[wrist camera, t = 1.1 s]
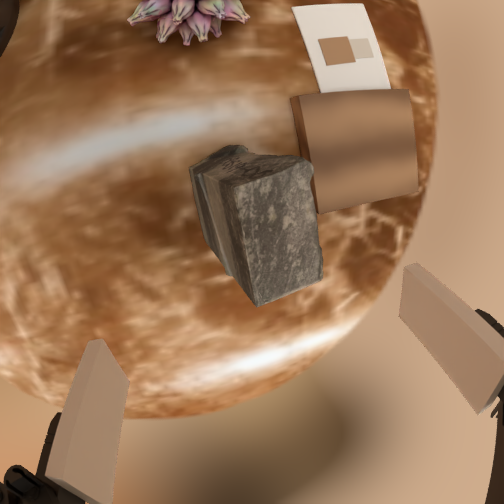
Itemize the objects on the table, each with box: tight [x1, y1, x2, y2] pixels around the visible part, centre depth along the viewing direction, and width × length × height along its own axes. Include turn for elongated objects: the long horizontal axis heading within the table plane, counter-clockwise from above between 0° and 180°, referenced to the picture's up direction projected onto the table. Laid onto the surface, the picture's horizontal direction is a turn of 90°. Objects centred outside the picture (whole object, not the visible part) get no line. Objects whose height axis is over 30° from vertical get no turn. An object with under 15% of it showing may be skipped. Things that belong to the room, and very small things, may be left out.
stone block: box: [189, 145, 323, 307], centre depth 23 cm, size 9×14×5 cm
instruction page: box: [291, 4, 391, 93], centre depth 25 cm, size 12×9×1 cm
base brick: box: [290, 89, 418, 214], centre depth 28 cm, size 12×13×3 cm
